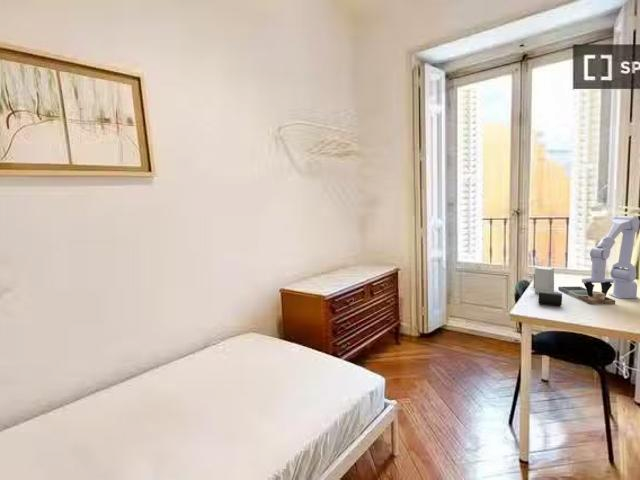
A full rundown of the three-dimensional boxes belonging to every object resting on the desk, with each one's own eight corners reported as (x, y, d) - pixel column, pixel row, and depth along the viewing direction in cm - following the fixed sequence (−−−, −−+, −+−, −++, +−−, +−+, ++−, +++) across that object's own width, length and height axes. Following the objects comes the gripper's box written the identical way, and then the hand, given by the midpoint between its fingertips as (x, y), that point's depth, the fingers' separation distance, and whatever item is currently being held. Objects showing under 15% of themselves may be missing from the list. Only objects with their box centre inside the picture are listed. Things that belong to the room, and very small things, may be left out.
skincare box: (554, 293, 208) (555, 268, 206) (548, 295, 205) (550, 269, 203) (538, 291, 215) (539, 266, 213) (533, 292, 212) (534, 267, 210)
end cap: (538, 305, 188) (538, 292, 187) (538, 301, 194) (538, 289, 193) (561, 308, 183) (562, 294, 182) (560, 304, 189) (561, 291, 189)
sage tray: (590, 294, 205) (591, 290, 205) (602, 298, 196) (602, 295, 196) (568, 294, 206) (568, 290, 206) (578, 298, 197) (578, 295, 197)
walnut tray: (602, 299, 196) (603, 295, 195) (615, 304, 187) (615, 300, 186) (578, 299, 197) (578, 295, 196) (589, 304, 188) (589, 300, 187)
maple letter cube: (597, 300, 194) (598, 291, 194) (604, 303, 189) (605, 293, 189) (587, 300, 195) (588, 291, 194) (594, 303, 190) (594, 293, 189)
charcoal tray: (580, 289, 215) (580, 286, 215) (590, 294, 206) (590, 290, 206) (558, 289, 216) (558, 286, 216) (567, 294, 207) (567, 290, 207)
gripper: (588, 272, 186) (586, 298, 188) (619, 272, 185) (617, 298, 187) (580, 269, 193) (578, 294, 195) (609, 269, 192) (607, 294, 194)
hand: (596, 296), depth 191 cm, fingers open, 6 cm apart
